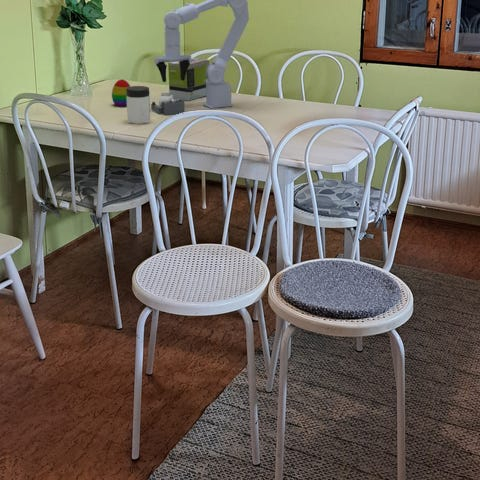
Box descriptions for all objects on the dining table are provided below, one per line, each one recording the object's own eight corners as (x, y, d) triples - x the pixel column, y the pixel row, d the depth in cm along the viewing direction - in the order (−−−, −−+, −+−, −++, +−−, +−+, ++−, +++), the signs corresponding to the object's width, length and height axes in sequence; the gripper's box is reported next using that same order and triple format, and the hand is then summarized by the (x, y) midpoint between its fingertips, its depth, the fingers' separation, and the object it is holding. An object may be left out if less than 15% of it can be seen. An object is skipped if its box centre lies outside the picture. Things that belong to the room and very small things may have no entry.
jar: (132, 125, 283) (131, 91, 278) (122, 120, 289) (121, 87, 284) (155, 122, 287) (154, 88, 283) (145, 117, 294) (143, 84, 289)
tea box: (191, 92, 337) (191, 56, 331) (210, 95, 331) (210, 59, 326) (168, 98, 325) (167, 61, 320) (187, 101, 320) (187, 64, 314)
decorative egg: (108, 106, 311) (107, 80, 307) (118, 102, 318) (117, 76, 314) (127, 108, 308) (125, 82, 304) (137, 103, 315) (136, 78, 311)
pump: (170, 107, 309) (170, 92, 307) (174, 110, 305) (174, 94, 302) (157, 108, 307) (157, 93, 305) (161, 111, 303) (161, 95, 300)
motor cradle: (176, 107, 310) (176, 93, 308) (187, 112, 301) (187, 98, 299) (151, 109, 305) (150, 96, 303) (161, 115, 297) (161, 101, 295)
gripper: (185, 42, 309) (186, 77, 314) (150, 44, 303) (151, 80, 308) (193, 44, 303) (193, 80, 308) (157, 47, 297) (158, 83, 302)
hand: (173, 80), depth 307 cm, fingers open, 7 cm apart
